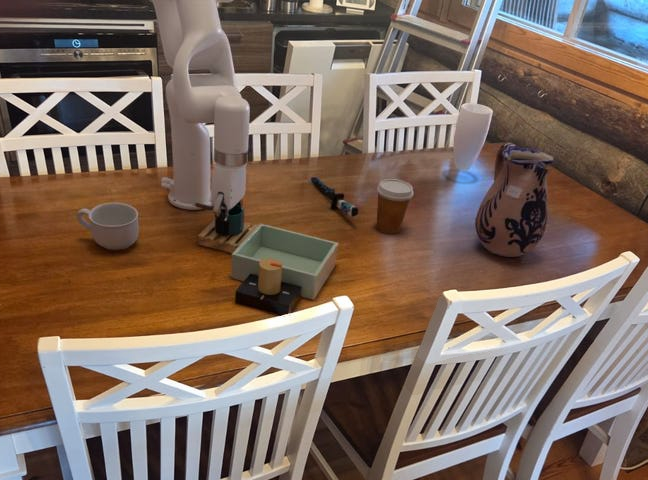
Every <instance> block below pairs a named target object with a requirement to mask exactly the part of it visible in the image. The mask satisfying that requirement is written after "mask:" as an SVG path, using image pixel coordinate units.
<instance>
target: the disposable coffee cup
mask: <svg viewBox="0 0 648 480" xmlns="http://www.w3.org/2000/svg"><path fill="white" fill-rule="evenodd" d="M376 191H377V205H376V206H377V209H376V210H377V211H376V229H377V230H378V231H380V232H382V233H385V234H397V233H399V232H400V230H401V227H402V225H403V221H404V219H405V216H406V213H407V210H408V208H409V205H410V201H411V199H412V198H413V196H414V194H415V193H414V190H413V185H411V184H410V183H408V182H406V181H404V180H401V179H396V178H387V179H382V180H381V181H380V182H379V183H378V185H377V187H376Z"/></svg>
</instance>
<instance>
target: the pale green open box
mask: <svg viewBox="0 0 648 480" xmlns="http://www.w3.org/2000/svg"><path fill="white" fill-rule="evenodd" d="M257 225H258V226H257V228H256V229H255V230H254V231H253V232H252V233H251V234H250V235H249V236H248V237H247V238H246V239H245V240H244V242H243V243H242V244H241V245H240V246H239V247H238V248H237V249H236V250H235V251H234V252H233V253H231V270H230V271H231V273H230V274H231V275H230V277H231V279H234V280H237V281H241V282H244V280H245V279H246V278H247V277H248V276H249V274H250V273H251V274H255V275H259V262H260V261H261V260H263V259H267V258H272V259H277V260H279V261H280V262H281V263H282V277H281V282H285V283H289V284H293V285H297V286H300V287H302V290H301V298H305V299H308V300H315V299H316V297H317V295H318V294H319V292H320V291H321V289H322V287H323V286H324V284H325V283H326V281H327V279H328V278H329V276H330V275H331V273H332V272H333V270H334V268H335V267H336V262H337V255H338V249H339V242H336V241H332V240H329V239H324V238H321V237H317V236H314V235H313V236H312V235H308V234H304V233H300V232H295V231H292V230H289V229H284V228H280V227H277V226H271V225H268V224H264V223H259V224H257Z"/></svg>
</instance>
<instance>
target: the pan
mask: <svg viewBox="0 0 648 480" xmlns="http://www.w3.org/2000/svg"><path fill="white" fill-rule="evenodd" d="M195 206H196V207H199V208H203V209H202V210H206V211H211V212H213V208H214V206H208V205H205V204H201V203H195ZM222 206H224V207H227V205H225V204H222ZM225 211H226V210H224V209H221V212H222V213H223V214H224V215H225ZM214 220H215V229H214V231H215V230H216V219H215V218H214ZM228 220H229V235H231V236H233V235H236V234H239V233H241V232H242V231H243V228H244V224H245V209H244V207H243V206H240V205H238V204H236V205H235V206H234V207H233V208H231V209H230V211H229V216H228Z"/></svg>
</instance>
